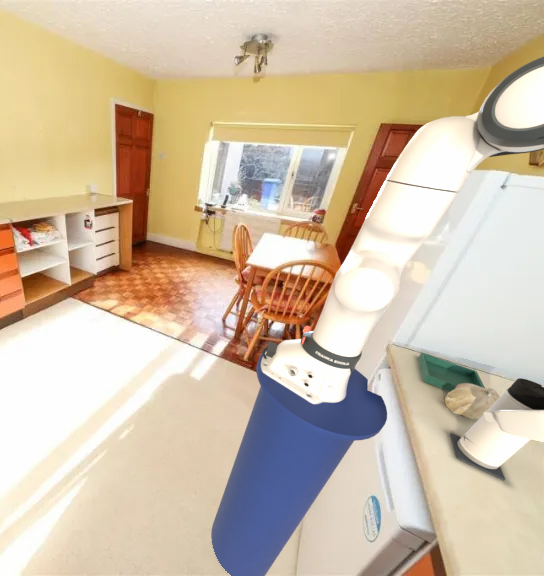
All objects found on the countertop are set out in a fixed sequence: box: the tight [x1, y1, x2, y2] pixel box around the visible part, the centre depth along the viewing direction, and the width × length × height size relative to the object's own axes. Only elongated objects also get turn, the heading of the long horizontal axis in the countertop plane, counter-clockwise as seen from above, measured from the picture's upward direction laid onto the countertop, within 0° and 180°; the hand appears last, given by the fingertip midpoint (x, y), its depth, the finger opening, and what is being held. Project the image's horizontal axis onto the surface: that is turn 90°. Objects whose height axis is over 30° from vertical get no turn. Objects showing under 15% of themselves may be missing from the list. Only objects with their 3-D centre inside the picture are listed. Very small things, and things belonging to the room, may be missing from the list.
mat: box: [449, 432, 506, 481], centre depth 58 cm, size 7×7×1 cm
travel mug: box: [457, 377, 544, 469], centre depth 53 cm, size 6×7×20 cm
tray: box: [417, 352, 486, 392], centre depth 78 cm, size 13×13×2 cm
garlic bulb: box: [444, 383, 500, 420], centre depth 66 cm, size 9×8×10 cm
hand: (508, 416), depth 53 cm, fingers open, 8 cm apart
